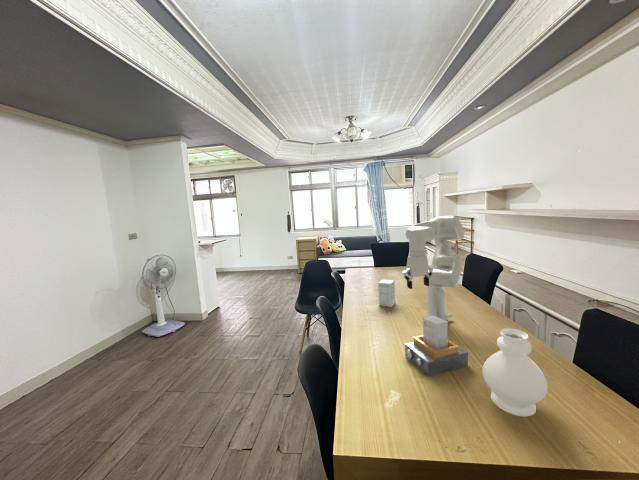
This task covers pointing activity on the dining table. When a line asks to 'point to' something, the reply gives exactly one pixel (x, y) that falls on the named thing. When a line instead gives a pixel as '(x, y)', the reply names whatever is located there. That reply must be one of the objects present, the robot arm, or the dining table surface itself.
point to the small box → (435, 332)
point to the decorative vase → (514, 375)
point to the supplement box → (386, 293)
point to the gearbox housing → (435, 356)
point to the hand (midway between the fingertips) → (418, 286)
